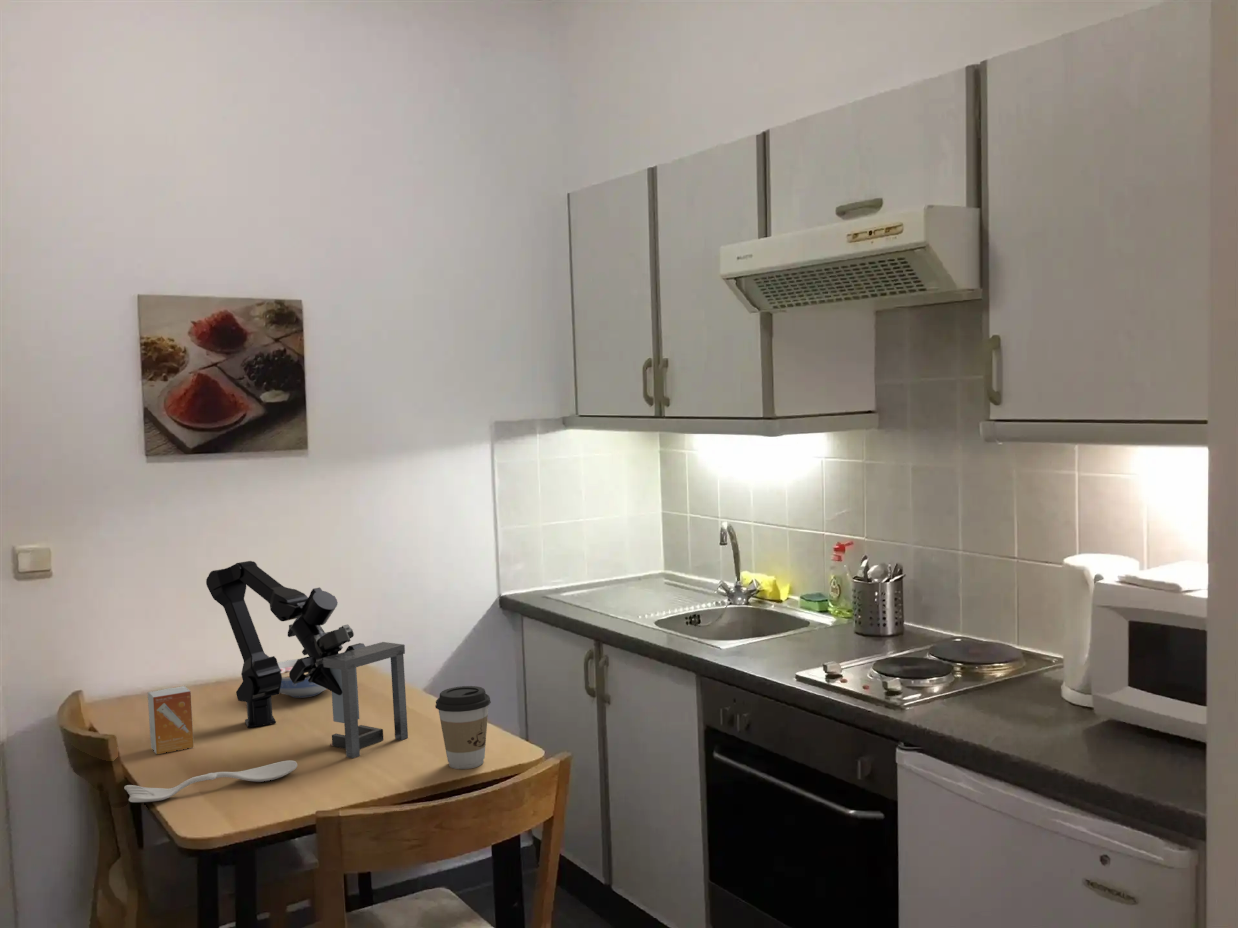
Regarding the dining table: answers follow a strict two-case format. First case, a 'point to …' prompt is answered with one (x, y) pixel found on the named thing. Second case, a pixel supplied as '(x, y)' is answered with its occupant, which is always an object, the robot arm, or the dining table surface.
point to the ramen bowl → (300, 688)
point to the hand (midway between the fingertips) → (348, 691)
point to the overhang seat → (356, 734)
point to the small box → (170, 719)
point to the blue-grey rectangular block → (340, 697)
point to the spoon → (253, 774)
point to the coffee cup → (464, 725)
